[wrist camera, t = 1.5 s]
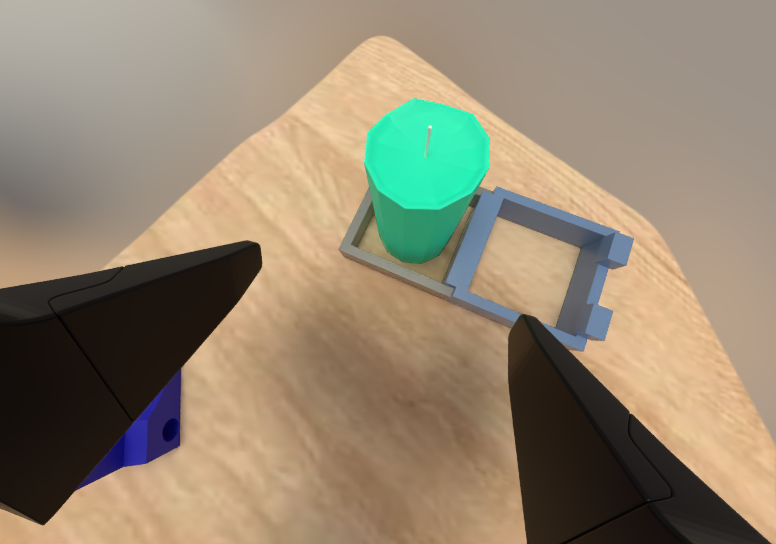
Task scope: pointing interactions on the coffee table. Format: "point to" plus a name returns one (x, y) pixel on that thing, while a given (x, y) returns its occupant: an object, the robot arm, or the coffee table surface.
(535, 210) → the frame
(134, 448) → the cable clip
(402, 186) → the candle
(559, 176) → the coffee table surface
